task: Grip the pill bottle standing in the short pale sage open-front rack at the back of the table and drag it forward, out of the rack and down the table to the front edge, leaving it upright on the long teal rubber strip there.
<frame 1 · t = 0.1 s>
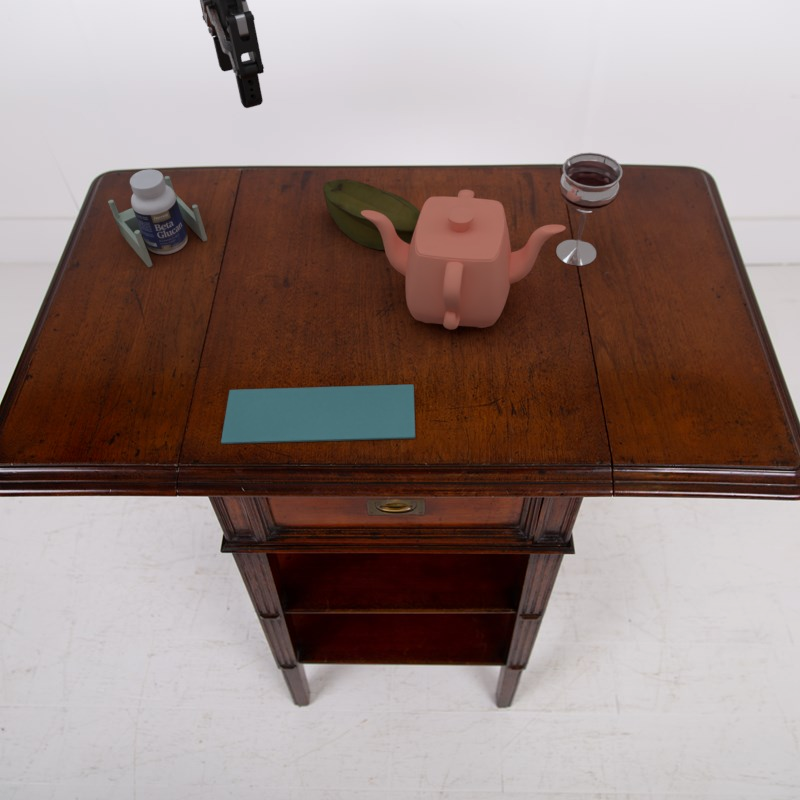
hand: (241, 86, 84), 20 cm above the table, tool pointing down, fingers open, 8 cm apart
wineglass: (575, 253, 95), on the table
pill bottle: (168, 243, 98), on the table
rack: (148, 219, 101), on the table
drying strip: (319, 414, 80), on the table
fruit: (375, 232, 98), on the table
teapot: (458, 300, 90), on the table
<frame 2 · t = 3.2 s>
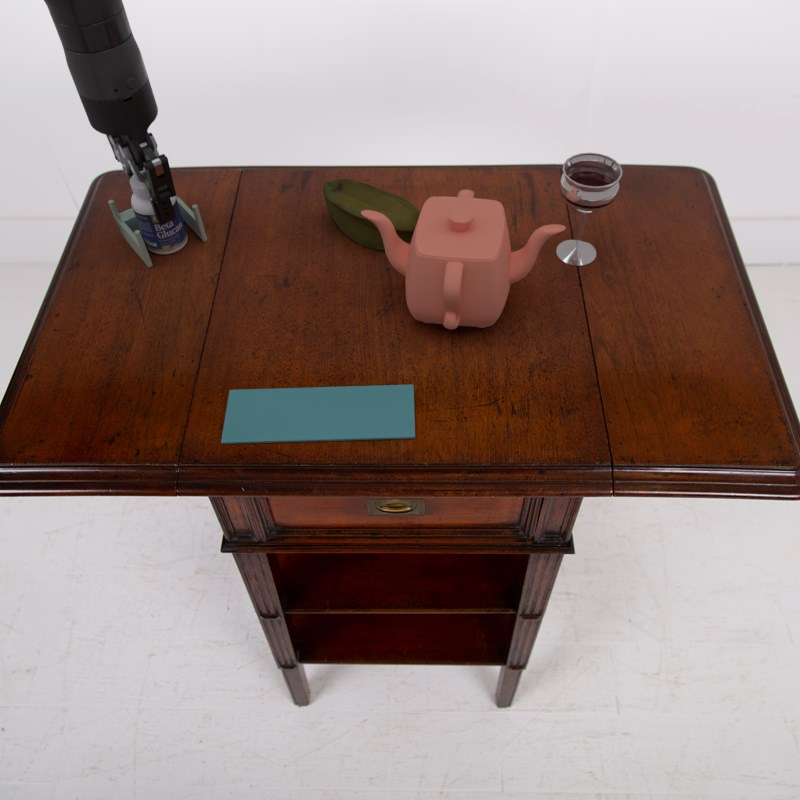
hand: (156, 207, 94), 5 cm above the table, tool pointing down, fingers closed on pill bottle, 5 cm apart
pill bottle: (168, 243, 98), on the table, touching gripper
everything else where it was.
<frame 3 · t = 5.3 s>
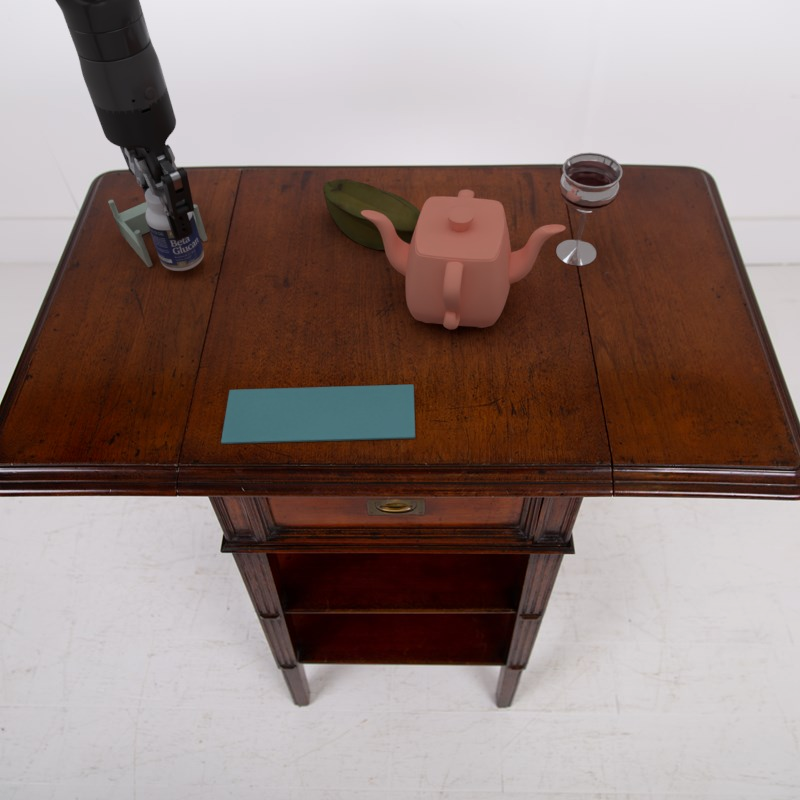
hand: (171, 222, 90), 7 cm above the table, tool pointing down, fingers closed on pill bottle, 5 cm apart
pill bottle: (183, 259, 94), point 1 cm above the table, touching gripper
everything else where it was.
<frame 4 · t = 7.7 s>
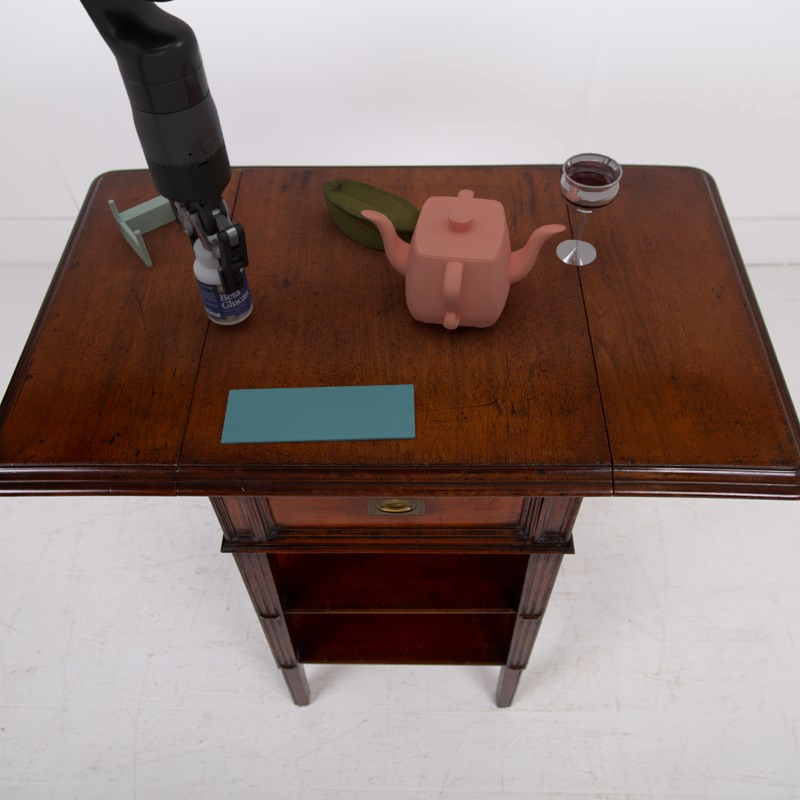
hand: (220, 274, 84), 7 cm above the table, tool pointing down, fingers closed on pill bottle, 5 cm apart
pill bottle: (230, 311, 88), point 1 cm above the table, touching gripper
everything else where it was.
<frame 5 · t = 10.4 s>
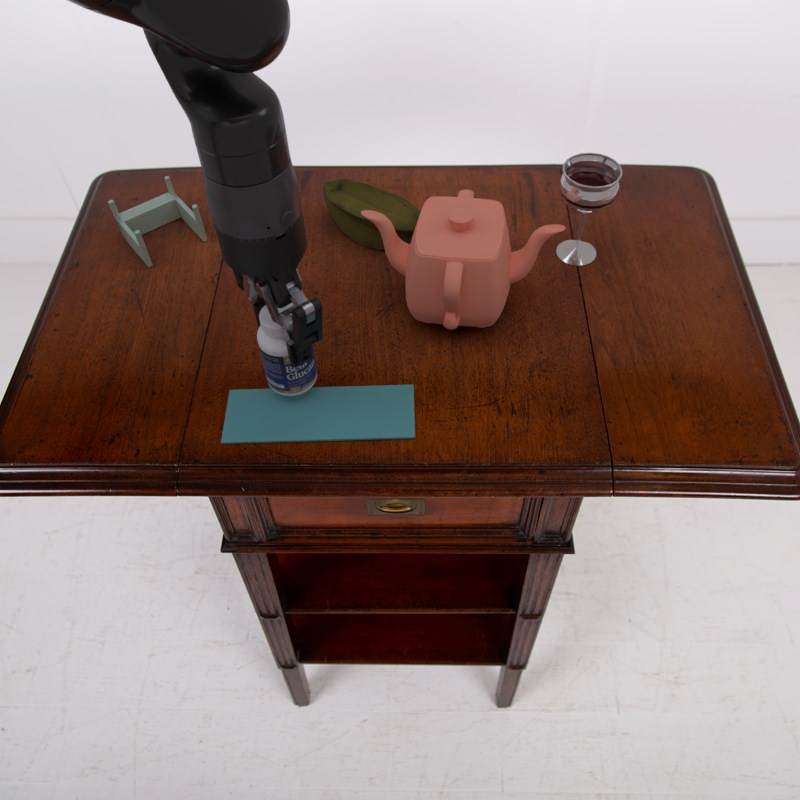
hand: (285, 343, 77), 7 cm above the table, tool pointing down, fingers closed on pill bottle, 5 cm apart
pill bottle: (293, 379, 81), point 1 cm above the table, touching gripper
everything else where it was.
when the fingers open (6 cm above the table, at t = 12.3 s): pill bottle stays where it is, resting on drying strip.
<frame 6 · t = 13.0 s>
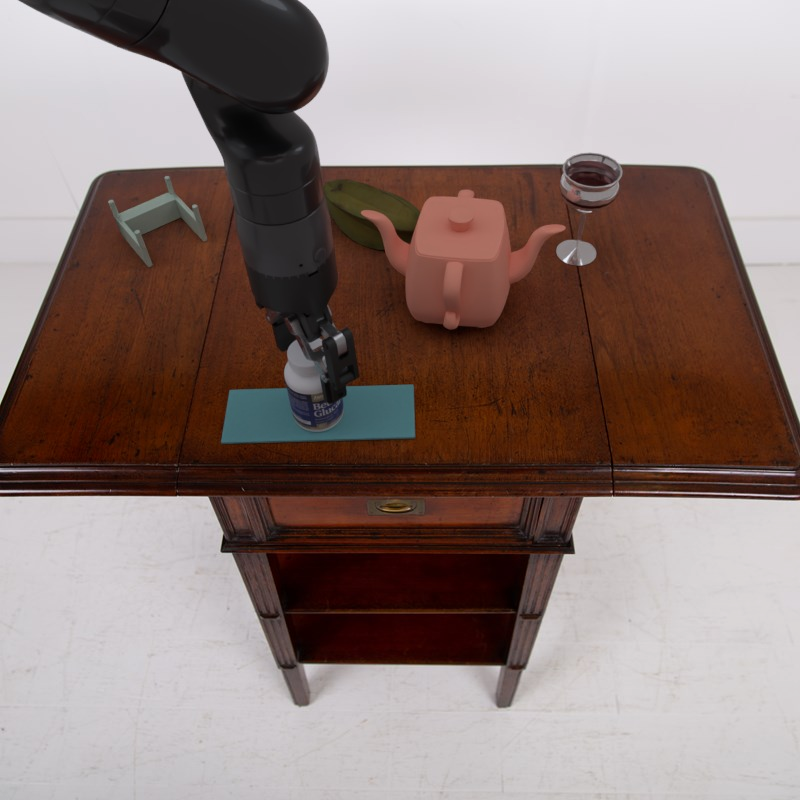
hand: (311, 371, 75), 7 cm above the table, tool pointing down, fingers open, 8 cm apart
pill bottle: (319, 414, 80), resting on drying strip
everything else where it was.
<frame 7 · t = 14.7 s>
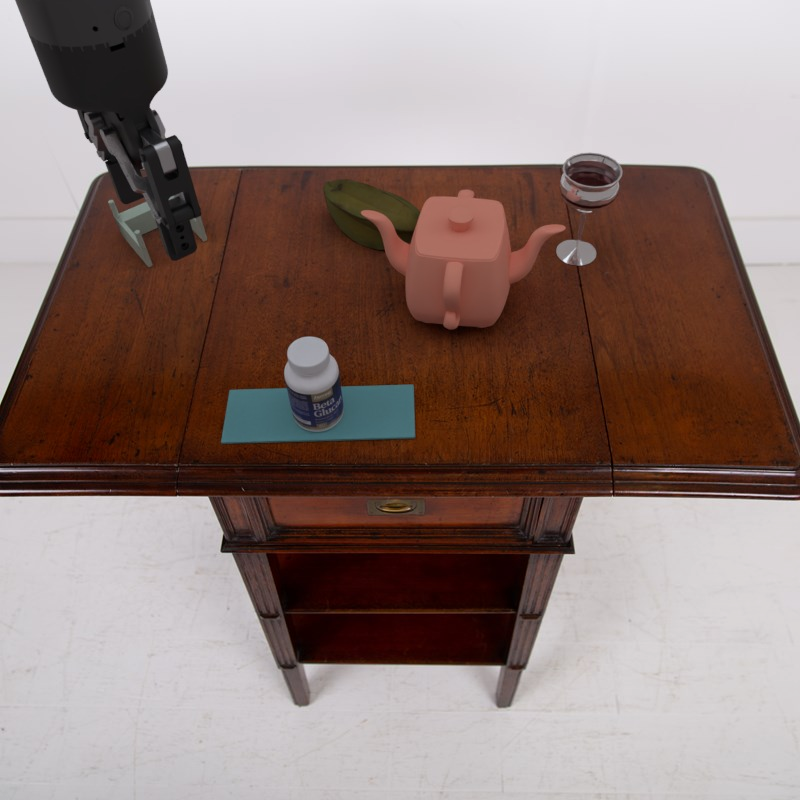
hand: (157, 225, 59), 26 cm above the table, tool pointing down, fingers open, 8 cm apart
nothing on the table moved.
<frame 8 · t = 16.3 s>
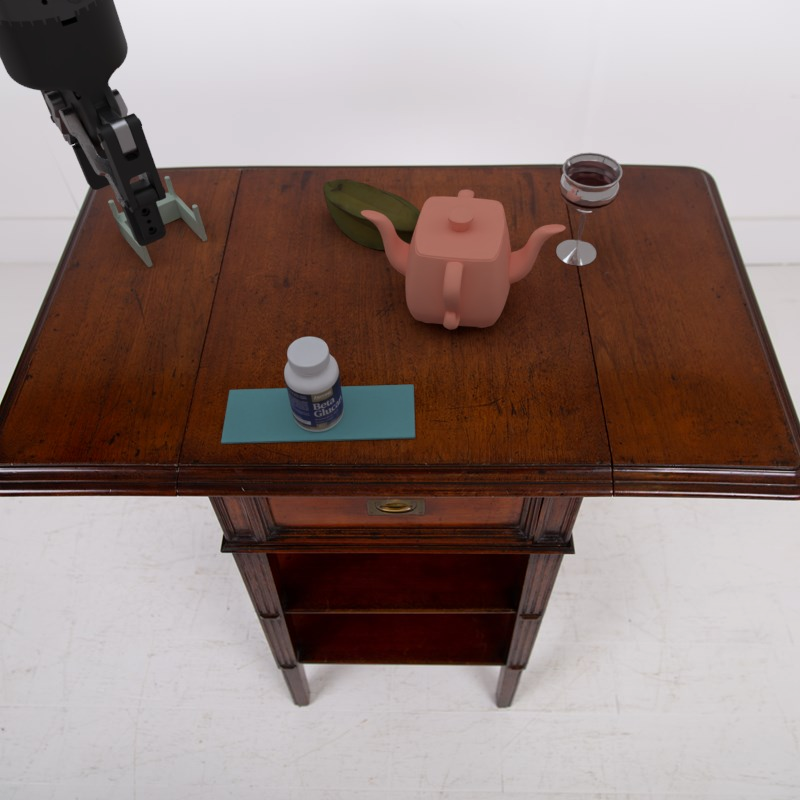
hand: (127, 211, 57), 28 cm above the table, tool pointing down, fingers open, 8 cm apart
nothing on the table moved.
at the end: pill bottle inside the target area (0.1 cm from its centre), resting on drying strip; pill bottle moved 35.9 cm from its start; pill bottle tilted 0° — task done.
